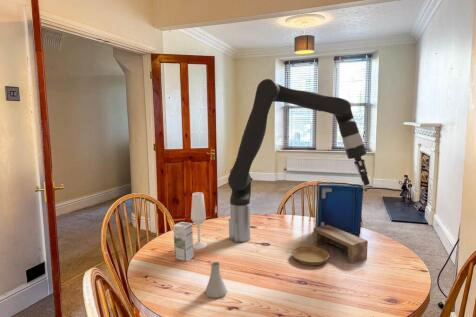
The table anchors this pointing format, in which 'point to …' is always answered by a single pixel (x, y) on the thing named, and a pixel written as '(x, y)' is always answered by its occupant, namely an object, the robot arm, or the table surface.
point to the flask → (215, 282)
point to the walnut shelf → (342, 241)
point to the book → (339, 206)
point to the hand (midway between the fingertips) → (366, 182)
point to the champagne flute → (198, 215)
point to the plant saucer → (310, 255)
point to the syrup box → (183, 241)
